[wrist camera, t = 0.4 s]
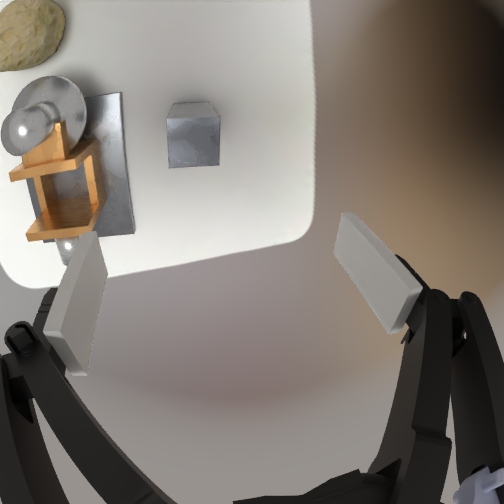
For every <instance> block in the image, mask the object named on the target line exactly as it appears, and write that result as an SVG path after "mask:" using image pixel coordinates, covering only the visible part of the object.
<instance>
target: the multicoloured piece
mask: <svg viewBox="0 0 504 504" xmlns="http://www.w3.org/2000/svg"><path fill="white" fill-rule="evenodd" d="M1 140H2V144H3V146H4V148H5V149H6V151H7V152H9V153H10V154H12V155H14V156H22V161H23V162H22V163H21V164H20V165H18V166H17V167H16V168H14V169H13V170H12V171H11V172H9V176H10V181H11V182H14V181H18V180H22V179H26V180H27V185H28V189H29V193H30V197H31V201H32V205H33V209H34V212H35V216H36V220H35V222H34V223H33V224H32V226H31V227H30V228H29V230H28V231H27V232H26V237H27V240H28V242H30V241H38V240H43V242H44V243H48V242H56V245H57V248H58V251H59V254H60V257H61V260H62V262H63V264H64V265H66V266H68V264H69V262H70V259H71V257H72V255H73V253H74V250H75V248H76V246H77V244H78V242H79V240H80V238H81V236H82V234H83V232H91V231H96V232H97V236H98V237H105V236H115V235H126V234H135V225H134V218H133V212H132V205H131V198H130V191H129V184H128V175H127V167H126V157H125V147H124V135H123V121H122V103H121V92H120V93H113V94H107V95H101V96H95V97H90V98H85V99H84V97H83V95H82V93H81V91H80V89H79V88H78V87H77V86H76V85H75V84H74V83H73V82H72V81H70V80H69V79H67V78H65V77H61V76H46V77H41V78H39V79H36V80H34V81H32V82H31V83H30V84H28V85H27V86H26V87H25V88H24V89H23V90H22V91H21V92H20V94H19V95H18V97H17V98H16V100H15V102H14V105H13V107H12V111H11V113H10V114H9V115H8V116H7V117H6V118H5V120H4V122H3V124H2V128H1Z"/></svg>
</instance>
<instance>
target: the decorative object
mask: <svg viewBox="0 0 504 504" xmlns="http://www.w3.org/2000/svg"><path fill="white" fill-rule="evenodd" d="M64 24H65V18H64V15H63V11H62V9H61V8H60V7H59V6H58V5H57V4H56V3H54V2H53V0H15V1H13V2H11V3H10V4H8V5H7V6H6V7H4V8H3V10H2V11H1V13H0V72H5V71H18V70H24V69H27V68H32V67H34V66H36V65H39V64H40V63H42V62H44V61H45V60H47V58H48V57H49V56H51V55H52V54H53V53H55V52H56V51H57V49H58V47H57V46H58V45H59V42H60V40H61V39H62V37H63V30H64V28H65V25H64Z"/></svg>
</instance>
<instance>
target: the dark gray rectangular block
mask: <svg viewBox="0 0 504 504" xmlns="http://www.w3.org/2000/svg"><path fill="white" fill-rule="evenodd" d="M167 138H168V159H169V168H180V167H196V166H215V165H219V152H220V116H219V114H218V113H217V112H216V111H215V109H214V108H213V107H212V105H211V104H210V103H209V102H191V103H174V104H173V106H172V108H171V110H170V113H169V115H168V118H167Z"/></svg>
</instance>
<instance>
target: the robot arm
mask: <svg viewBox="0 0 504 504" xmlns="http://www.w3.org/2000/svg"><path fill="white" fill-rule="evenodd" d="M333 254H334V255H335V257H336V258H337V259H338V261H339V262H340V263H341V265H342V266H343V268H344V269H345V271H346V272H347V274H348V275H349V276H350V278H351V279H352V281H353V282H354V284H355V285H356V286H357V288H358V289H359V291H360V292H361V294H362V295H363V297H364V298H365V300H366V301H367V303H368V304H369V306H370V307H371V309H372V310H373V312H374V313H375V315H376V316H377V318H378V319H379V321H380V322H381V324H382V326H383V327H384V329H385V330H386V332H387V333H388V335H390V334H393V333H397V332H400V331H401V330H402V328H403V326H404V324H405V322H406V323H407V325H408V326H409V329H408V330H407V332H406V334H405V336H404V338H403V339H402V341H401V344H403V342H404V341H405V346H404V352H403V357H402V363H401V368H400V373H399V378H398V383H397V388H396V391H395V396H394V400H393V404H392V408H391V412H390V415H389V419H388V423H387V427H386V430H385V433H384V437H383V440H382V443H381V446H380V449H379V452H378V454H377V457H376V458H375V459H374V461H373V462H372V464H371V466H370V468H369V470H368V472H367V473H360V471H359V469H357V470H354V471H352V472H349V473H346V474H343V475H341V476H338V477H335V478H332V479H330V480H328V481H326V482H325V483H323V484H321V485H319V486H318V487H316V488H314V489H312V490H311V491H309V492H307V493H305V494H303V495H298V496H262V497H257V498H251V499H245V500H238V501H233V504H444V503H442V502H440V499H441V495H442V492H443V488H444V483H445V479H446V475H447V470H448V465H449V460H450V455H451V449H452V441H451V439H450V438H448V437H446V426H447V418H448V409H449V401H450V395H451V402H452V410H453V420H454V430H455V444H456V463H457V473H458V480H459V484H460V488H459V490H458V491H456V492H455V494H454V495H453V501H454V502H455V503H456V504H504V362H503V359H502V356H501V353H500V350H499V347H498V344H497V341H496V338H495V335H494V332H493V330H492V327H491V324H490V322H489V319H488V317H487V314H486V312H485V310H484V307H483V304H482V302H481V301H480V299H479V298H478V297H477V295H475V294H474V293H472V292H467V291H465V292H463V293H462V294H461V296H460V298H459V299H450V298H449V297H448V295H447V294H445V293H444V292H443V291H440V290H438V289H430V288H429V286H428V285H427V284H426V283H425V282H424V281H423V280H422V279H421V277H420V276H419V275H418V274H417V273H415V271H414V270H413V268H411V267H410V265H409V264H408V263H407V262H406V261H405V260H404V259H403V258H401V257H400V256H398V255H394V254H393V253H392V252H391V251H390V250H389V249H388V247H386V245H385V244H384V243H383V242H382V241H381V240H380V239H379V238H378V237H377V236H376V235H375V234H374V233H373V232H372V231H371V230H370V229H369V228H368V227H367V226H366V225H365V223H364V222H362V220H361V219H359V217H357V215H356V214H355V213H353V212H349V213H342V214H341V220H340V224H339V230H338V234H337V238H336V243H335V247H334V252H333ZM107 276H108V272H107V269H106V265H105V262H104V258H103V255H102V251H101V247H100V243H99V240H98V236H97V232H96V231H91V232H83V234H82V236H81V238H80V240H79V242H78V244H77V246H76V248H75V250H74V253H73V255H72V257H71V259H70V262H69V264H68V266H67V268H66V271H65V273H64V275H63V278H62V280H61V283H60V285H59V288H51V289H50V290H49V291H48V292H47V293H46V294H45V295H44V298H43V300H42V302H41V306H40V308H39V310H38V313H37V315H36V318H35V321H34V323H33V326H31V325H30V324H29V323H28V322H25V321H20V322H17V323H15V324H13V325H12V326H11V327H10V328H9V329H8V330H7V332H6V334H5V338H4V340H5V344H6V345H7V347H8V348H9V349H10V351H11V352H12V353H9V354H6V355H2V356H1V354H0V498H1V501H2V503H3V504H69V502H68V500H67V498H66V495H65V493H64V491H63V489H62V487H61V484H60V482H59V480H58V478H57V475H56V472H55V470H54V467H53V465H52V462H51V459H50V457H49V454H48V451H47V449H46V445H45V442H44V439H43V436H42V433H41V430H40V426H39V423H38V419H37V416H36V412H35V408H34V404H33V400H32V398H35V400H36V402H37V404H38V406H39V408H40V409H41V411H42V413H43V415H44V417H45V418H46V420H47V422H48V424H49V425H50V427H51V429H52V430H53V432H54V433H55V435H56V437H57V438H58V440H59V441H60V443H61V444H62V446H63V447H64V449H65V450H66V452H67V453H68V455H69V456H70V458H71V459H72V460H73V462H74V463H75V465H76V466H77V467H78V468H79V470H80V471H81V473H82V474H83V475H84V476H85V478H86V479H87V480H88V482H89V483H90V484H91V485H92V487H93V488H94V489H95V490H96V491H97V493H98V494H99V495H100V496H101V497H102V498H103V500H104V501H105V502H106V503H107V504H177V503H176V502H175V501H173V500H172V499H171V498H170V497H169V496H167V495H166V494H165V493H164V492H163V491H162V490H161V489H160V488H159V487H157V486H156V485H155V484H154V483H153V482H152V481H151V480H150V479H149V478H148V477H147V476H146V475H145V474H144V473H143V472H142V471H141V470H140V469H139V468H138V467H137V466H136V465H135V464H134V463H133V462H132V461H131V460H130V459H129V458H128V457H127V456H126V454H125V453H124V452H123V451H122V450H121V449H120V448H119V447H118V446H117V444H116V443H115V442H114V441H113V440H112V439H111V437H110V436H109V435H108V434H107V433H106V431H105V430H104V429H103V428H102V426H101V425H100V424H99V423H98V422H97V420H96V419H95V418H94V416H93V415H92V414H91V412H90V411H89V410H88V409H87V407H86V406H85V404H84V403H83V402H82V400H81V399H80V397H79V396H78V395H77V393H76V392H75V390H74V389H73V387H72V386H71V384H70V383H69V381H68V380H67V379H66V377H65V370H66V368H67V370H68V371H69V372H70V374H71V375H74V376H87V375H88V369H89V362H90V356H91V349H92V344H93V339H94V333H95V328H96V323H97V318H98V314H99V309H100V305H101V300H102V296H103V292H104V287H105V284H106V280H107ZM465 332H466V339H465V338H464V334H465Z"/></svg>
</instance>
